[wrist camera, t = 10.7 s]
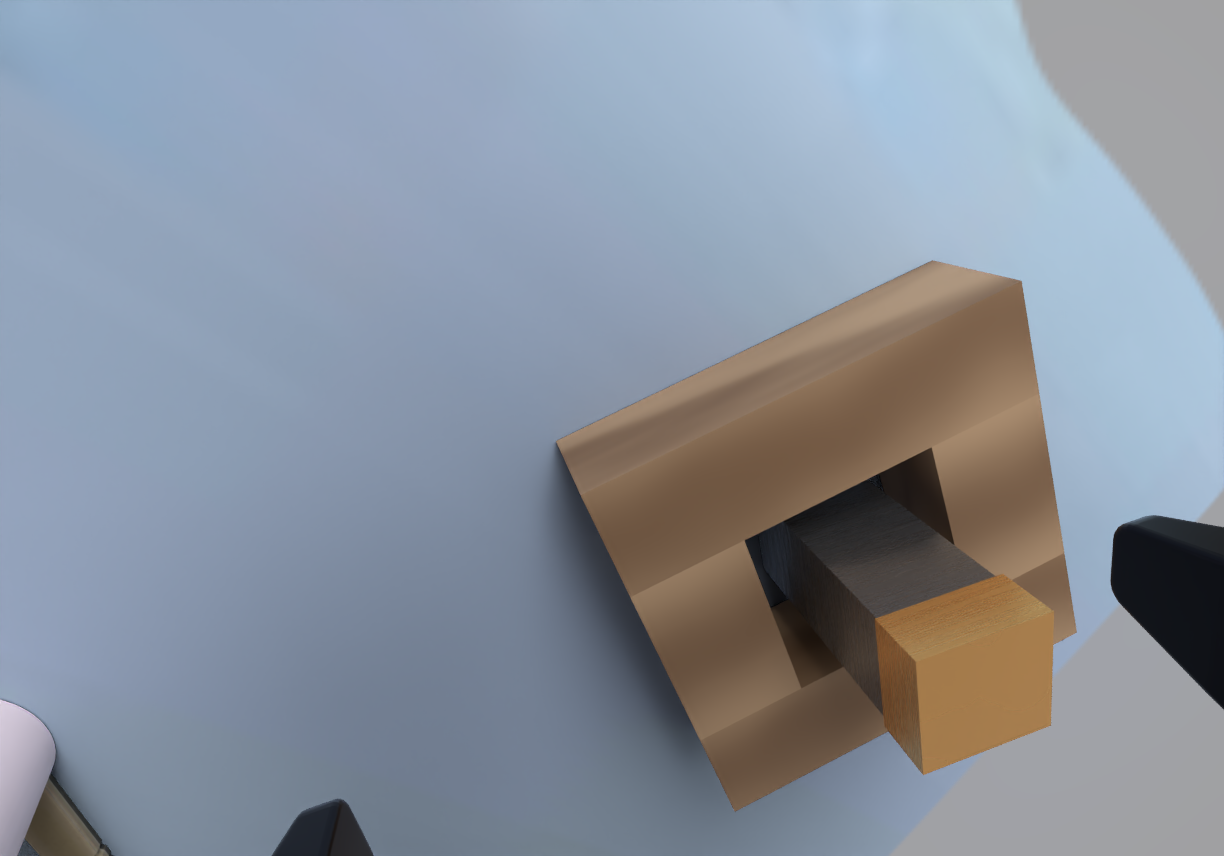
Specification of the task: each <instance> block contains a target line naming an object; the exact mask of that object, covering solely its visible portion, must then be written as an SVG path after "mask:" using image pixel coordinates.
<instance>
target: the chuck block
mask: <svg viewBox="0 0 1224 856" xmlns="http://www.w3.org/2000/svg"><path fill="white" fill-rule="evenodd" d="M556 442H557V444H558V447H559V449H560V451H561V453H562V455H563V458H564V460H565V462H566V464H567V466H568V469H569V471H570V473H571V475H572V477H573V480H574V482H575V484H576V486H577V488H578V491H579V493H580V495H581V497H582V499H583V501H584V503H585V505H586V507H587V509H588V512H589V514H590V516H591V518H592V520H593V522H594V524H595V526H596V528H597V530H598V532H599V534H600V536H601V538H602V540H603V542H604V544H605V546H606V548H607V550H608V553H609V555H610V557H611V559H612V561H613V563H614V565H615V567H616V569H617V571H618V573H619V575H620V577H621V579H622V581H623V583H624V585H625V587H626V589H627V591H628V594H629V596H630V598H631V600H632V602H633V604H634V606H635V608H636V610H637V612H638V614H639V616H640V618H641V620H642V622H643V624H644V626H645V628H646V630H647V632H648V635H649V637H650V639H651V641H652V643H653V645H654V647H655V649H656V651H657V653H658V655H659V657H660V659H661V661H662V663H663V665H664V667H665V669H666V671H667V674H668V676H669V678H670V680H671V682H672V684H673V686H674V688H675V690H676V692H677V694H678V696H679V698H680V700H681V702H682V704H683V706H684V708H685V710H686V712H687V715H688V717H689V719H690V721H691V723H692V725H693V727H694V729H695V731H696V733H697V735H698V737H699V739H700V741H701V743H702V745H703V747H704V749H705V751H706V753H707V756H708V758H709V760H710V762H711V764H712V766H713V768H714V770H715V772H716V774H717V776H718V778H719V780H720V782H721V784H722V786H723V788H724V790H725V792H726V794H727V797H728V799H729V801H730V803H731V805H732V807H733V809H734V811H737V810H739V809H741V808H743V807H745V806H747V805H749V804H750V803H752V802H754V801H756V800H758V799H760V798H762V797H764V796H766V795H768V794H770V793H771V792H773V791H775V790H777V789H779V788H781V787H783V786H785V785H787V784H789V783H791V782H792V781H794V780H796V779H798V778H800V777H802V776H804V775H806V774H808V773H810V772H812V771H813V770H815V769H817V768H819V767H821V766H823V765H825V764H827V763H829V762H831V761H832V760H834V759H836V758H838V757H840V756H842V755H844V754H846V753H848V752H850V751H852V750H853V749H855V748H857V747H859V746H861V745H863V744H865V743H867V742H869V741H871V740H873V739H874V738H876V737H878V736H880V735H882V734H884V733H886V732H888V730H887V729H886V728H885V726H884V717H883V715H882V714H881V713H880V711H879V710H878V709H877V708H876V706H875V705H874V704H873V703H872V701H871V700H870V699H869V698H868V696H867V695H866V694H865V693H864V692H863V690H862V689H861V688H860V687H859V685H858V684H857V683H856V682H855V680H854V679H853V678H852V677H851V675H850V674H849V673H848V672H847V671H846V669H845V668H844V667H843V666H842V664H841V663H840V662H839V661H838V659H837V658H836V657H835V656H834V654H833V653H832V652H831V651H830V650H829V648H828V647H827V646H826V645H825V643H824V642H823V641H822V640H821V638H820V637H819V636H818V635H817V633H816V632H815V631H814V630H813V628H812V627H811V626H810V625H809V624H808V622H807V621H806V620H805V619H804V617H803V616H802V615H801V614H800V612H799V611H798V610H797V609H796V607H795V606H794V605H793V604H792V603H791V601H790V600H789V599H788V600H786V601H784V602H782V603H780V604H778V605H776V606H774V607H772V608H770V606H769V603H768V600H767V598H766V595H765V593H764V590H763V587H762V585H761V582H760V580H759V577H758V575H757V572H756V569H755V567H754V564H753V562H752V559H751V556H750V554H749V551H748V549H747V546H746V543H745V541H744V540H746V539H748V538H750V537H752V536H754V535H756V534H758V533H760V532H762V531H764V530H766V529H768V528H770V527H772V526H774V525H776V524H778V523H780V522H782V521H784V520H786V519H788V518H791V517H793V516H795V515H797V514H799V513H801V512H803V511H805V510H807V509H809V508H811V507H813V506H815V505H817V504H819V503H821V502H823V501H825V500H827V499H829V498H831V497H833V496H835V495H837V494H839V493H841V492H843V491H845V490H847V489H849V488H851V487H853V486H855V485H857V484H859V483H861V482H863V481H865V480H867V479H869V478H871V477H873V476H875V475H877V474H879V475H880V479H881V483H882V486H883V490H884V493H886V494H887V495H888V496H890V497H891V498H892V499H894V500H895V501H896V502H898V503H899V504H900V505H902V506H903V507H904V508H906V509H907V510H908V511H909V512H911V513H912V514H913V515H915V516H916V517H917V518H919V519H920V520H921V521H923V522H924V523H925V524H927V525H928V526H929V527H931V528H932V529H933V530H935V531H936V532H937V533H939V534H940V535H941V536H943V537H944V538H945V539H947V540H948V541H949V542H951V543H952V544H953V545H955V546H956V547H957V548H959V549H960V550H961V551H963V552H964V553H965V554H967V555H968V556H969V557H971V558H972V559H973V560H975V561H976V562H977V563H979V564H980V565H981V566H983V567H984V568H985V569H987V570H988V571H989V572H991V573H992V574H993V575H995V576H997V575H1000V574H1004V575H1005V576H1007V577H1008V578H1009V579H1011V580H1012V581H1013V582H1015V583H1016V584H1017V585H1019V586H1020V587H1022V588H1023V589H1024V590H1026V591H1027V592H1028V593H1030V594H1031V595H1032V596H1034V597H1035V598H1036V599H1038V600H1039V601H1040V602H1042V603H1043V604H1045V605H1046V606H1047V607H1049V608H1050V609H1051V610H1053V611H1054V631H1053V645H1054V644H1056V643H1058V642H1059V641H1061V640H1063V639H1065V638H1067V637H1069V636H1071V635H1073V634H1075V633H1077V631H1076V624H1075V618H1074V612H1073V605H1072V599H1071V593H1070V586H1069V580H1068V574H1067V567H1066V561H1065V555H1064V548H1063V542H1062V536H1061V529H1060V523H1059V516H1058V510H1057V504H1056V497H1055V491H1054V485H1053V478H1052V472H1051V466H1050V459H1049V453H1048V447H1047V440H1046V434H1045V428H1044V421H1043V415H1042V408H1041V402H1040V396H1039V389H1038V383H1037V377H1036V370H1035V364H1034V358H1033V351H1032V345H1031V339H1030V332H1029V326H1028V320H1027V313H1026V307H1025V300H1024V294H1023V288H1022V281H1020V280H1015V279H1011V278H1006V277H1002V276H998V275H993V274H989V273H985V272H980V271H976V270H972V269H967V268H963V267H959V266H954V265H950V264H945V263H941V262H937V261H931V262H929V263H926V264H924V265H922V266H920V267H918V268H916V269H914V270H912V271H910V272H908V273H906V274H903V275H901V276H899V277H897V278H895V279H893V280H891V281H889V282H887V283H885V284H883V285H881V286H878V287H876V288H874V289H872V290H870V291H868V292H866V293H864V294H862V295H860V296H858V297H856V298H853V299H851V300H849V301H847V302H845V303H843V304H841V305H839V306H837V307H835V308H833V309H830V310H828V311H826V312H824V313H822V314H820V315H818V316H816V317H814V318H812V319H810V320H808V321H805V322H803V323H801V324H799V325H797V326H795V327H793V328H791V329H789V330H787V331H785V332H783V333H780V334H778V335H776V336H774V337H772V338H770V339H768V340H766V341H764V342H762V343H760V344H758V345H755V346H753V347H751V348H749V349H747V350H745V351H743V352H741V353H739V354H737V355H735V356H732V357H730V358H728V359H726V360H724V361H722V362H720V363H718V364H716V365H714V366H712V367H710V368H707V369H705V370H703V371H701V372H699V373H697V374H695V375H693V376H691V377H689V378H687V379H685V380H682V381H680V382H678V383H676V384H674V385H672V386H670V387H668V388H666V389H664V390H662V391H660V392H657V393H655V394H653V395H651V396H649V397H647V398H645V399H643V400H641V401H639V402H637V403H634V404H632V405H630V406H628V407H626V408H624V409H622V410H620V411H618V412H616V413H614V414H612V415H609V416H607V417H605V418H603V419H601V420H599V421H597V422H595V423H593V424H591V425H589V426H587V427H584V428H582V429H580V430H578V431H576V432H574V433H572V434H570V435H568V436H566V437H564V438H562V439H559V440H557V441H556Z"/></svg>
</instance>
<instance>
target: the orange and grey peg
mask: <svg viewBox="0 0 1224 856" xmlns="http://www.w3.org/2000/svg"><path fill="white" fill-rule="evenodd" d="M758 535H759V541H760V547H761V553H762V560H763V566H764V569H765V570H766V572H767V573H768V574H769V575H770V577H771V578H772V579H773V580H774V582H775V583H776V584H777V585H778V586H779V588H780V589H781V590H782V591H783V593H784V594H785V595H786V596H787V598H788V599H789V600H790V601H791V603H792V604H793V605H794V606H795V607H796V609H797V610H798V611H799V612H800V614H801V615H802V616H803V617H804V619H805V620H806V621H807V622H808V624H809V625H810V626H811V627H812V628H813V630H814V631H815V632H816V633H817V635H818V636H819V637H820V638H821V640H822V641H823V642H824V643H825V645H826V646H827V647H828V648H829V650H830V651H831V652H832V653H833V654H834V656H835V657H836V658H837V659H838V661H839V662H840V663H841V664H842V666H843V667H844V668H845V669H846V671H847V672H848V673H849V674H850V675H851V677H852V678H853V679H854V680H855V682H856V683H857V684H858V685H859V687H860V688H861V689H862V690H863V692H864V693H865V694H866V695H867V696H868V698H869V699H870V700H871V701H872V703H873V704H874V705H875V706H876V708H877V709H878V710H879V711H880V713H881V714H882V715H883V717H884V726H885V728H886V729H887V730H888V731H889V733H890V734H891V735H892V736H893V738H894V739H895V740H896V741H897V743H898V744H899V745H900V746H901V748H902V749H903V750H904V751H905V753H906V754H907V755H908V757H909V758H910V759H911V760H912V762H913V763H914V764H915V765H916V767H917V768H918V769H919V770H920V772H921V773H922V774H923V775H924V774H927V773H930V772H932V771H935V770H937V769H940V768H942V767H945V766H948V765H950V764H953V763H955V762H958V761H961V760H963V759H966V758H968V757H971V756H973V755H976V754H979V753H981V752H984V751H986V750H989V749H991V748H994V747H997V746H999V745H1002V744H1004V743H1006V742H1009V741H1012V740H1015V739H1017V738H1020V737H1022V736H1025V735H1027V734H1030V733H1033V732H1035V731H1038V730H1040V729H1043V728H1046V727H1048V726H1051V699H1052V698H1051V697H1052V666H1053V631H1054V611H1053V610H1051V609H1050V608H1049V607H1047V606H1046V605H1045V604H1043V603H1042V602H1040V601H1039V600H1038V599H1036V598H1035V597H1034V596H1032V595H1031V594H1030V593H1028V592H1027V591H1026V590H1024V589H1023V588H1022V587H1020V586H1019V585H1017V584H1016V583H1015V582H1013V581H1012V580H1011V579H1009V578H1008V577H1007V576H1005V575H1004V574H1000V575H997V576H995V575H993V574H992V573H991V572H989V571H988V570H987V569H985V568H984V567H983V566H981V565H980V564H979V563H977V562H976V561H975V560H973V559H972V558H971V557H969V556H968V555H967V554H965V553H964V552H963V551H961V550H960V549H959V548H957V547H956V546H955V545H953V544H952V543H951V542H949V541H948V540H947V539H945V538H944V537H943V536H941V535H940V534H939V533H937V532H936V531H935V530H933V529H932V528H931V527H929V526H928V525H927V524H925V523H924V522H923V521H921V520H920V519H919V518H917V517H916V516H915V515H913V514H912V513H911V512H909V511H908V510H907V509H906V508H904V507H903V506H902V505H900V504H899V503H898V502H896V501H895V500H894V499H892V498H891V497H890V496H888V495H887V494H886V493H884V492H883V491H882V490H880V489H879V488H878V487H876V486H875V485H874V484H872V483H871V482H870V481H868V480H865V481H863V482H861V483H859V484H857V485H855V486H853V487H851V488H849V489H847V490H845V491H843V492H841V493H839V494H837V495H835V496H833V497H831V498H829V499H827V500H825V501H823V502H821V503H819V504H817V505H815V506H813V507H811V508H809V509H807V510H805V511H803V512H801V513H799V514H797V515H795V516H793V517H791V518H788V519H786V520H784V521H782V522H780V523H778V524H776V525H774V526H772V527H770V528H768V529H766V530H764V531H762V532H760V533H758Z"/></svg>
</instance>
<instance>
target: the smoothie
mask: <svg viewBox="0 0 1224 856" xmlns="http://www.w3.org/2000/svg"><path fill="white" fill-rule="evenodd" d="M55 756H56V749H55V743H54V740H53V738H52V736H51V734H50V732H49V730H48V729H47V727H46V726H45V725H44V724H43V723H42V722H41V721H40V720H39V719H38V718H37V717H36V716H34V715H33V714H32V713H30V712H28V711H27V710H25V709H23V708H21V707H19V706H17V705H15V704H12V703H9V702H7V701H3V700H0V856H18V853H19V851H20V848H21V846H22V843H23V841H24V838H25V836H26V833H27V831H28V828H29V826H30V823H31V821H32V818H33V816H34V813H35V811H36V808H37V806H38V803H39V801H40V798H41V796H42V793H43V791H44V788H45V786H46V783H47V781H48V778H49V776H50V773H51V771H52V768H53V766H54V762H55Z"/></svg>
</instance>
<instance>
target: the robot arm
mask: <svg viewBox="0 0 1224 856" xmlns="http://www.w3.org/2000/svg"><path fill="white" fill-rule="evenodd" d="M1111 587H1112V591H1113V593H1114V595H1115V597H1116V599H1117V600H1118V602H1119V603H1120V604H1121V605H1122V606H1123V607H1124V608H1125V609H1126V610H1127V611H1128V612H1129V613H1130V614H1131V616H1132V617H1133V618H1134V619H1136V621H1137V622H1138V623H1139V624H1140V625H1141V626H1142V627H1143V628H1144V629H1145V630H1146V631H1147V632H1148V633H1149V634H1150V635H1151V636H1152V637H1153V638H1154V639H1155V640H1156V641H1157V642H1158V643H1159V644H1160V645H1161V646H1162V647H1163V648H1164V649H1165V651H1166V652H1167V653H1168V654H1169V655H1170V656H1172V658H1173V659H1174V660H1175V661H1176V662H1177V663H1178V664H1179V665H1180V666H1181V667H1182V668H1183V669H1184V670H1185V671H1186V672H1187V673H1188V674H1189V675H1190V676H1191V677H1192V678H1193V679H1194V680H1195V681H1196V682H1197V683H1198V684H1199V685H1200V686H1201V687H1202V689H1204V690H1205V692H1206V693H1207V694H1208V695H1209V696H1210V697H1212V699H1214V701H1216V703H1218V704H1219V705H1220V706H1221V707H1222V708H1223V709H1224V527H1219V526H1213V525H1208V524H1202V523H1197V522H1191V521H1186V520H1180V519H1174V518H1169V517H1163V516H1156V515H1151V516H1145V517H1142V518H1139V519H1137V520H1134V521H1131V522H1128V523H1125V524H1123V525H1121V526H1120V527H1118V528H1117V530H1116V532H1115V534H1114V538H1113V552H1112V567H1111ZM272 856H373V853H372V851H371V848H370V846H369V844H368V842H367V840H366V838H365V836H364V834H363V832H362V830H361V828H360V826H359V824H358V822H357V820H356V818H355V816H354V815H353V813H352V811H351V809H350V807H349V805H348V804H347V803H346V802H345V801H344V800H341V799H335V800H332V801H329V802H326V803H323V804H320V805H318V806H315V807H312V808H309V809H306V810H305V811H303V812H301V813H300V814H299V815H298V817H297V818H296V819H295V820H294V822H293V824H292V825H291V827H290V828H289V830H288V831H287V833H286V834H285V836H284V837H283V839H282V840H281V842H280V844H279V845H278V847H277V848H276V850H275V851H274V853H273V854H272Z"/></svg>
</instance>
